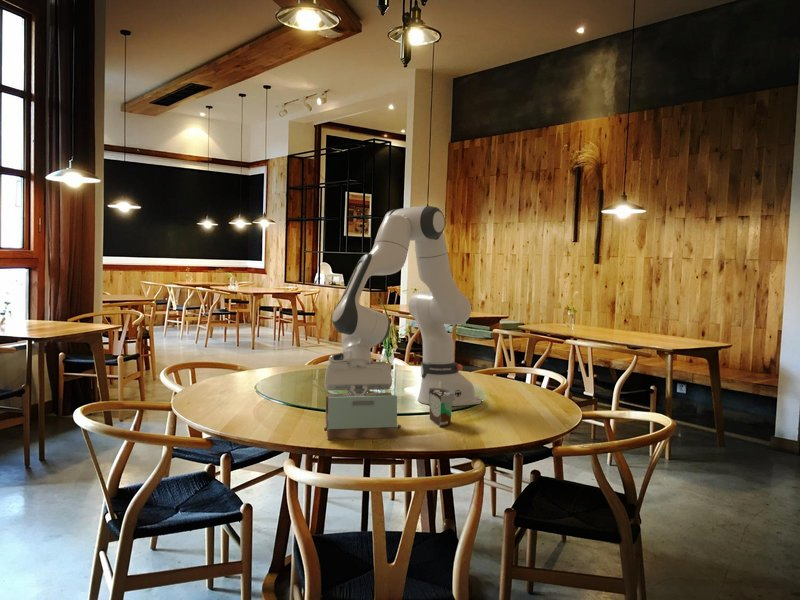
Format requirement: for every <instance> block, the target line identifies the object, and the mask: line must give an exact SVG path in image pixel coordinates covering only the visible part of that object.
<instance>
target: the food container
mask: <svg viewBox="0 0 800 600" xmlns="http://www.w3.org/2000/svg"><path fill="white" fill-rule="evenodd" d="M454 400H455V397H454V394H453V392H452V391H451V390H448V389H442V388H429V404H428V405H429V420H430V421H431V422H432V423H433V424H435V425H436V426H437V427H439V428H445V427H449V426H451V422H452V419H451V418H452V409H453V406H452V401H454Z"/></svg>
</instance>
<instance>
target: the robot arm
mask: <svg viewBox="0 0 800 600" xmlns="http://www.w3.org/2000/svg"><path fill="white" fill-rule="evenodd" d="M445 226H446V219H445V214H444V213H443V211H441V209H440V208H439V207H437V206H431V205H427V206H421V205H419V206H409V207H404V208H395V209H391V210H389V211H388V212H386V214H385V215H384V217H383V219H382V222H381V224H380V226H379V228H378V230H377V234H376V237H375V239H374V244H373V246H372V249H371V250H370V252H369V253H367V254H366V253H365V254H364V255H362V256H361V257H360V259H359V260H358V262H357V264H356V266H355V267H354V269H353V272H352V274H351V276H350V278H349V280H348V283H347V285H346V287H345V289H344V291H343V293H342V296H341V298H340V300H339V302H338V303H337V304H336V305H335V308H334V310H333V312H332V315H331V322H332V325H333V328H335V330H336V332H338V333H339V334H341V346H342V347H343V349H342V352H340V353H335V354H332V355H330V356H329V358H328V362H327V363H328V364H327V366H326V368H325V375H324V389H325V390H326V391H347V390H350V393H351V394H352V396H365V395H366V393H367V390H370V391H371V390H372V391H376V390H378V391H379V390H380V391H382V390H385V391H386V390H387V391H388V390H390V389H391V387H392V386H393V376H392V374H391V373H392V365H391V364H390V363H388V362H386V361H373V360H372V353H371V348H375V347H377V346H378V345H380V344H381V343H383V342H385V340H387V338H388V337H389V336H390V332H391V322H390V319H389V317H388V315H387V314H385V313H383V312H380V311H377V310H375V309H371V308H369V307H367V306H364V305H362V304H360V301H359V300H360V297H361V295H362V293H363V291H364V288H365V286H366V284H367V281H368V279H369V278H371V277H372V276H388V275H389V276H390V275H393V274H396V273H398V272H400V271H401V270H403V267H404V266H405V263H406V261H407V257H408V252H409V249H410V248H409V247H410V243H411V241H414V251H415V259H416V264H417V273H418V277H419V279H420V281H421V282H422V283H424V284H425V286H426V287H427V288H428V290H425V291H420V292H415V293H413V294H412V295H411V296H410V299H409V300H408V311H409V314H410V315H411V316H412V318H413V319H414V321H415V322H416V324H417V326H418V328H419V331H420V334H421V340H422V361H421V365H420V376H421V384H420V389H419V395H418V396H417V401H418V402H419V403H421V404H424V405H425V404H426V405H430V404H429V388H442V389H448V390H451V391H452V392H453V394H454V397H455V400H454V401H452V407H460V406H461V407H462V406H470V405H471V406H472V405H473V406H474V405H480V404H482V399H481V397H480V396H479V395H477V394H475V393H476V392H475V387H474V384H473V383H472V382H471V380H469V379H468V378H467V377H465V376H464V375H463V374H461V373H460V372H459V371H462V370H463V368H464V366H463V365H462V364H461V363H458V362H456V361H455V341H454V339H453V337H452V336H451V335H450V334H449V332H448V331H447V330H446V327H445V325H450V326H451V325H461V324H465V323H466V322H467V321H468V320H469V319H470V317H471V314H472V304H471V302H470V300H469V298H468V297H467V296H466V295H464V294H463V293H462V291H461V290H460V289H459V287H458V285H457V283H456V281H455V279H454V278H453V274H452V271H451V266H450V260H449V253H448V248H447V242H446V238H445V235H444V230H445ZM371 360H372V361H371ZM355 390H362V392H363V393H362V394H356V392H355ZM350 393H349V394H350Z"/></svg>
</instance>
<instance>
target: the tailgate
mask: <svg viewBox="0 0 800 600" xmlns="http://www.w3.org/2000/svg"><path fill="white" fill-rule="evenodd" d="M381 427H397V428H398V396H397V395H396V394H395V395H393V394H392V395H385V396H345V397H328V429H350V428H381Z"/></svg>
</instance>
